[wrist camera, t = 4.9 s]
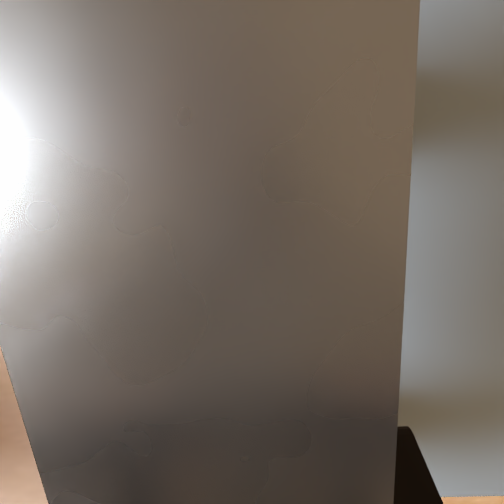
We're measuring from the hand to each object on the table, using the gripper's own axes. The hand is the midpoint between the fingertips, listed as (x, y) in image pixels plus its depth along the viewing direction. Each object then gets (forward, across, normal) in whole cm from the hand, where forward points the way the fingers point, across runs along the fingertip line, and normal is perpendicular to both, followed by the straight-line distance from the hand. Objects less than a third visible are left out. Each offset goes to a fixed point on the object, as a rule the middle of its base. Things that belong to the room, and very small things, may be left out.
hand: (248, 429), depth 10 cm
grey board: (+10, -9, +1) cm, 14 cm away
